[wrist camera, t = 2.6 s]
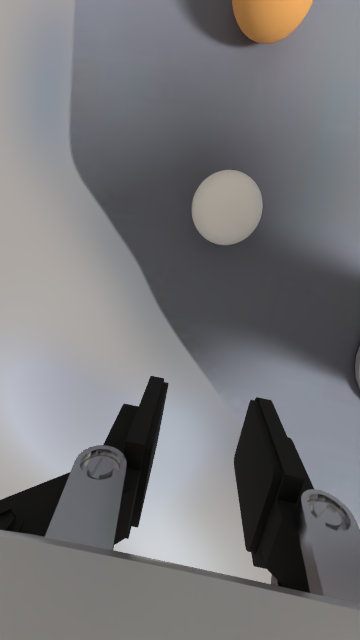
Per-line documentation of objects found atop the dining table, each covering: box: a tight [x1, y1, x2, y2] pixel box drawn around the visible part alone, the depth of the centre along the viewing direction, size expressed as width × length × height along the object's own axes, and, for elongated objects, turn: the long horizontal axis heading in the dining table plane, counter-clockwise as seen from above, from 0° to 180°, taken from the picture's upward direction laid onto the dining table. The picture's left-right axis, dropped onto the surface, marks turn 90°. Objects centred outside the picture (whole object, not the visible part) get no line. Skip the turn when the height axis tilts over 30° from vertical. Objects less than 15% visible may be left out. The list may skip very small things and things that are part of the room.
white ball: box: [192, 170, 263, 245], centre depth 23 cm, size 6×6×6 cm
